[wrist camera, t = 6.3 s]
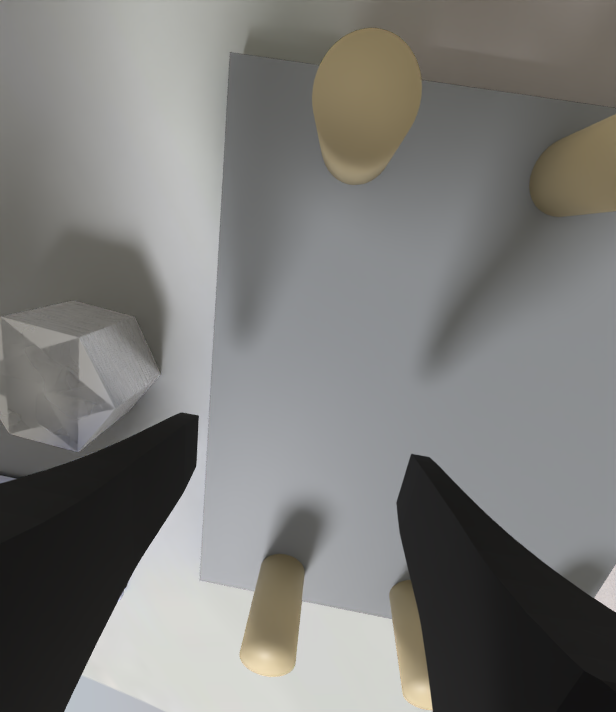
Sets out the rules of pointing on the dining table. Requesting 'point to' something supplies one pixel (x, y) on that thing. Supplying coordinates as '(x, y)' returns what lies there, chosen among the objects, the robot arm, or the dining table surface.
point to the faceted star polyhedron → (70, 372)
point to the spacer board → (404, 333)
